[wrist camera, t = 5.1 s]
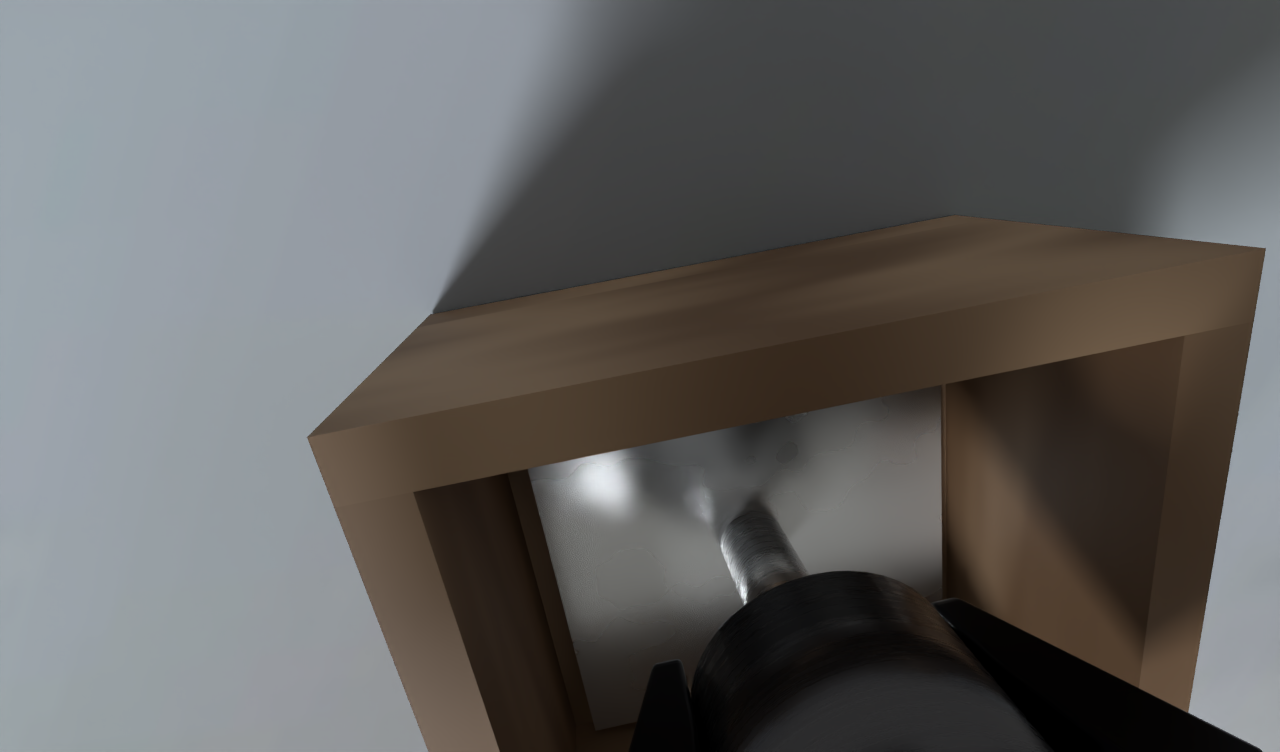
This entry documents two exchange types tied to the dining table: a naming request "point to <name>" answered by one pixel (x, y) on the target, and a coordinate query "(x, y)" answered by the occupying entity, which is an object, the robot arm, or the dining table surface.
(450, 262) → the dining table surface
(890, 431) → the plunger
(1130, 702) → the robot arm
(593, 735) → the wooden square tray
